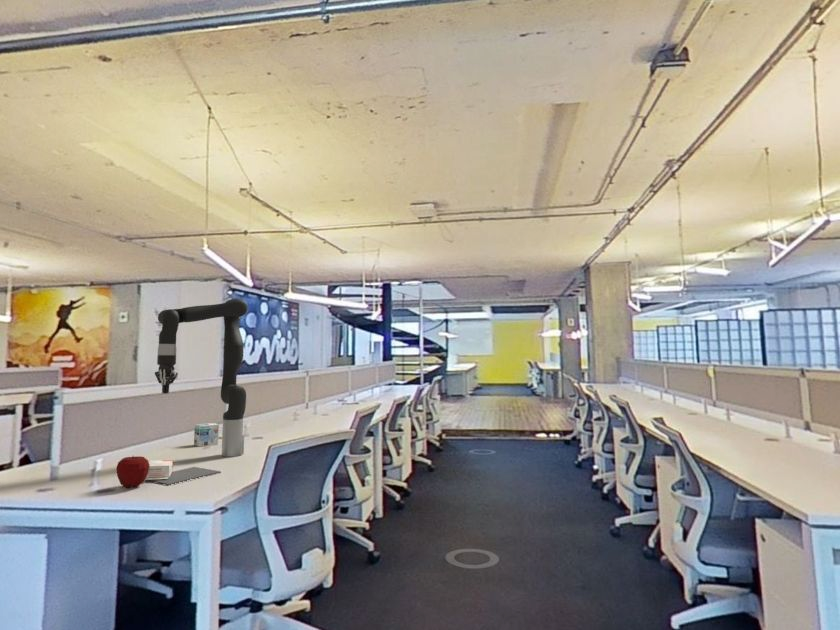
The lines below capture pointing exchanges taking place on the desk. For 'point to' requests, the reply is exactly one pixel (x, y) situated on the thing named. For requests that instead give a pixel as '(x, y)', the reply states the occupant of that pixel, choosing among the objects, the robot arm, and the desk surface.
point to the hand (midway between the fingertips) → (165, 393)
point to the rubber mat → (186, 475)
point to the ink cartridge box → (159, 469)
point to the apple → (132, 471)
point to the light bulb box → (206, 434)
